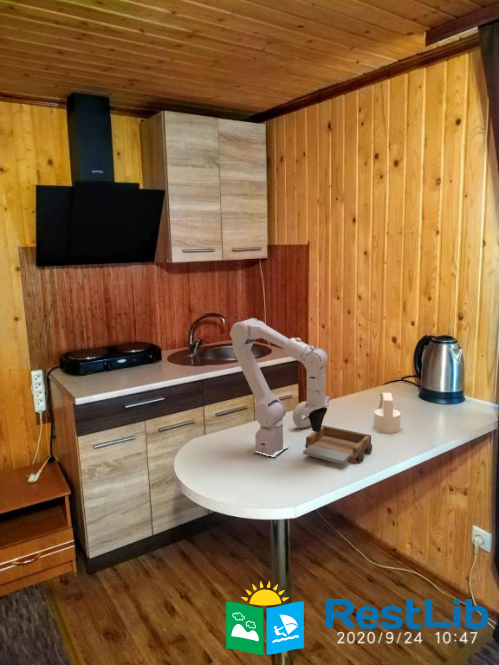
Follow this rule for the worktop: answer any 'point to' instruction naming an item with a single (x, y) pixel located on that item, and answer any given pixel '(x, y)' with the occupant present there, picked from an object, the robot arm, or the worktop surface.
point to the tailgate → (326, 454)
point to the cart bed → (341, 442)
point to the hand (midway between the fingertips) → (316, 430)
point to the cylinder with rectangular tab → (387, 416)
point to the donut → (300, 416)
